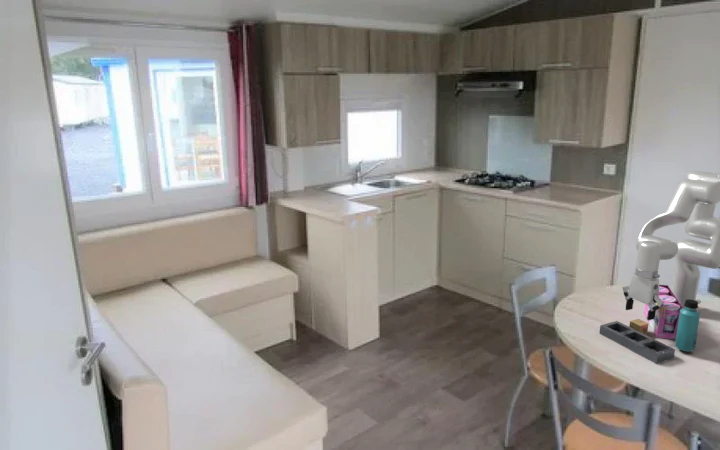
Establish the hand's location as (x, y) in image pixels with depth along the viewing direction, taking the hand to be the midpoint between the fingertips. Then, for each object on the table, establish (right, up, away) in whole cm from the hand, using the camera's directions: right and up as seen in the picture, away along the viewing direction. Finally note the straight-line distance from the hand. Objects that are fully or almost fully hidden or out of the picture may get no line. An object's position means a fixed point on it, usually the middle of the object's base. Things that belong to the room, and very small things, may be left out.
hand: (639, 314), depth 204 cm
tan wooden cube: (+1, -8, +3) cm, 8 cm away
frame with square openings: (-5, -10, -7) cm, 14 cm away
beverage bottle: (+10, -12, -11) cm, 19 cm away
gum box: (+13, -6, +8) cm, 16 cm away
